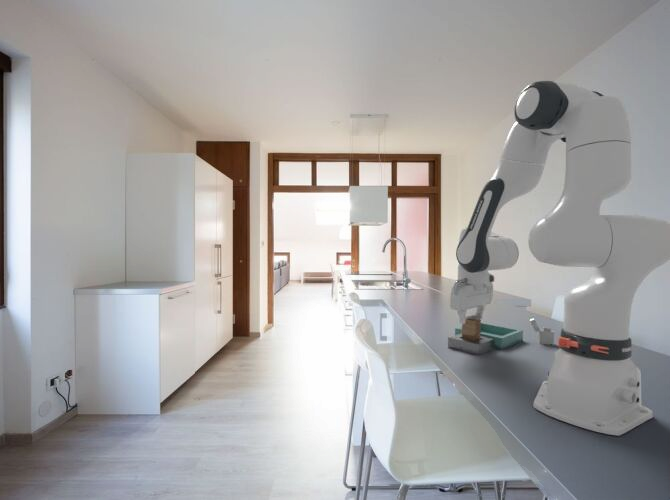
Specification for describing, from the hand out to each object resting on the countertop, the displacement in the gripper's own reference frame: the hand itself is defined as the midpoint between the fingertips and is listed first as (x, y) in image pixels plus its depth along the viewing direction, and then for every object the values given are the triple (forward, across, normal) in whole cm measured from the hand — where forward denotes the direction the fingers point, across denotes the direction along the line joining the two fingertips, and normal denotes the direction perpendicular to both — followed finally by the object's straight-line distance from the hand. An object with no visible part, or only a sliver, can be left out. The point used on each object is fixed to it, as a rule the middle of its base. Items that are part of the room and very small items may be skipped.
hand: (471, 321), depth 110 cm
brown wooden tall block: (+8, -1, 0) cm, 8 cm away
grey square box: (+8, -1, 0) cm, 8 cm away
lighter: (+9, +24, -12) cm, 28 cm away
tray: (+8, +13, +1) cm, 16 cm away
